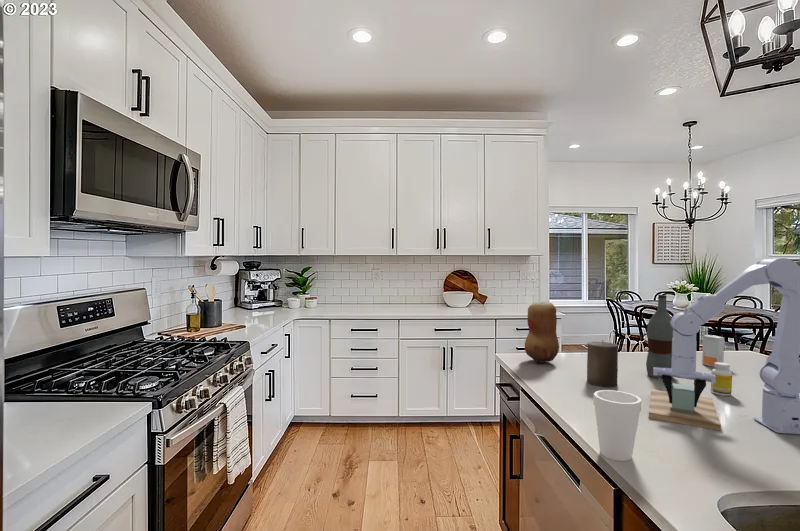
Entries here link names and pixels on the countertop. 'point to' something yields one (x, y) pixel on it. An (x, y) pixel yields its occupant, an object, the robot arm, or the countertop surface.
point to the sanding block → (683, 398)
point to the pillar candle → (602, 364)
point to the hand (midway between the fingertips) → (682, 404)
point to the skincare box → (712, 350)
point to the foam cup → (616, 423)
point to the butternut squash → (542, 332)
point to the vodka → (659, 339)
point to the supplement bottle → (722, 379)
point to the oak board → (701, 418)
